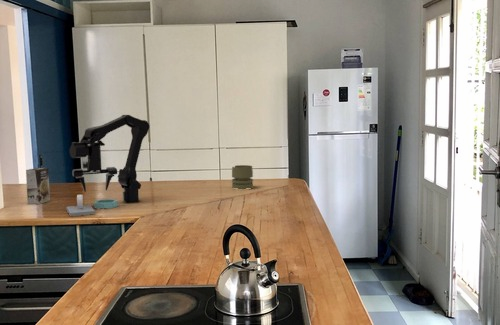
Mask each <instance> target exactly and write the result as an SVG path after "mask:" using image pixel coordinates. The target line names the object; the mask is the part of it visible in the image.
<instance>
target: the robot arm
mask: <svg viewBox="0 0 500 325" xmlns="http://www.w3.org/2000/svg"><path fill="white" fill-rule="evenodd" d="M125 125H126V126H127V127H129V128H130V132H131V137H132V138H131V142H130V145H129V150H128V152H127V153H128V154H127V158H126V161H125V165H124V167H123V168H119V171H118V169H117V168H116V167H115V166H107V167H105V168H104V169H102V153H101V147H104V146H105V145H106V144H105V143H104V142H103V141H102V139H104V138H105V137H106V136H107V134H109V133H111V132H113V131H116V130H117V129H119V128H122V127H124V126H125ZM149 130H150V124H149V122H148V120H146V119H145V120H144V119H140V118H136V117H134V116H132V115H130V114H122V115H121V116H119V117H117V118H115V119H112V120H110V121H109V122H105V123H104V124H101V125H96V126H92V127H88V128H86V129H85V130H84V135H83V136H82V137H81V139H80V141H78V142H77V141H76V142H75V141H73V142H71V145H70V147H69V156H70V157H71V158H72V159H78V158H79V159H80V158H86V157H87V160H82V168H76V169H72V173H71V175H72V177H74V178H76V179H77V180H79V181H80V183H81V186H82V189H83V191H84V193H85V192H87V191H86V189H87V188H86V187H87V186H86V182H85V177H84V175H96V174H97V175H98V174H105V187H104V188H105V191H107V190H108V188H109V184H110V182H111V181H112V178H113V177H115V175H117V180H118V181H117V182H118V183H119V184H120V187H121V189H123V191H122V201H123V202H124V203H127V204H129V203H139V202H140V199H139V190H141V188H142V184H141V182H139V181H138V180H137V177H138V176H137V175H138V174H137V170H136V167H137V165H138V164H137V163H138V159H139V156H140V155H139V154H140V151H141V148H142V143H143V140H144V139H145V137H146V136H147V135H148V132H149ZM83 169H85V170H83Z"/></svg>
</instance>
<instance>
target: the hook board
mask: <svg viewBox="0 0 500 325" xmlns="http://www.w3.org/2000/svg"><path fill="white" fill-rule="evenodd" d="M65 211H66V212H67V213H69V214H68V215H70V216H73V217H82V216H81V215H84V216H91V215H90V214H95V215H96V210H95V209H94V207H93V206H92V205H91V204H84V196H83V194H77V195H76V205H72V206H66V210H65ZM70 216H69V217H70Z"/></svg>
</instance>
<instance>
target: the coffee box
mask: <svg viewBox="0 0 500 325" xmlns="http://www.w3.org/2000/svg"><path fill="white" fill-rule="evenodd" d="M49 171H50V170H49V168H48V167H34V168H29V169H25V174H26V175H25V177H26V179H25V180H26V196H27V198H26V201H27V205H28V204H30V205H41V204H43V203H46V202H50V201H51V195H50V178H49V177H50V176H49V175H50V174H49Z"/></svg>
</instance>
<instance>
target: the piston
mask: <svg viewBox="0 0 500 325" xmlns="http://www.w3.org/2000/svg"><path fill="white" fill-rule="evenodd" d="M231 177H232V178H231V187H232V188H238V189H246V188H252V187H253V188H254V185H253V184H254V179H253V177H254V171H253V165H248V164H247V165H243V164H241V165H239V164H237V165H234V166H232V168H231ZM232 188H231V189H232Z"/></svg>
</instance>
